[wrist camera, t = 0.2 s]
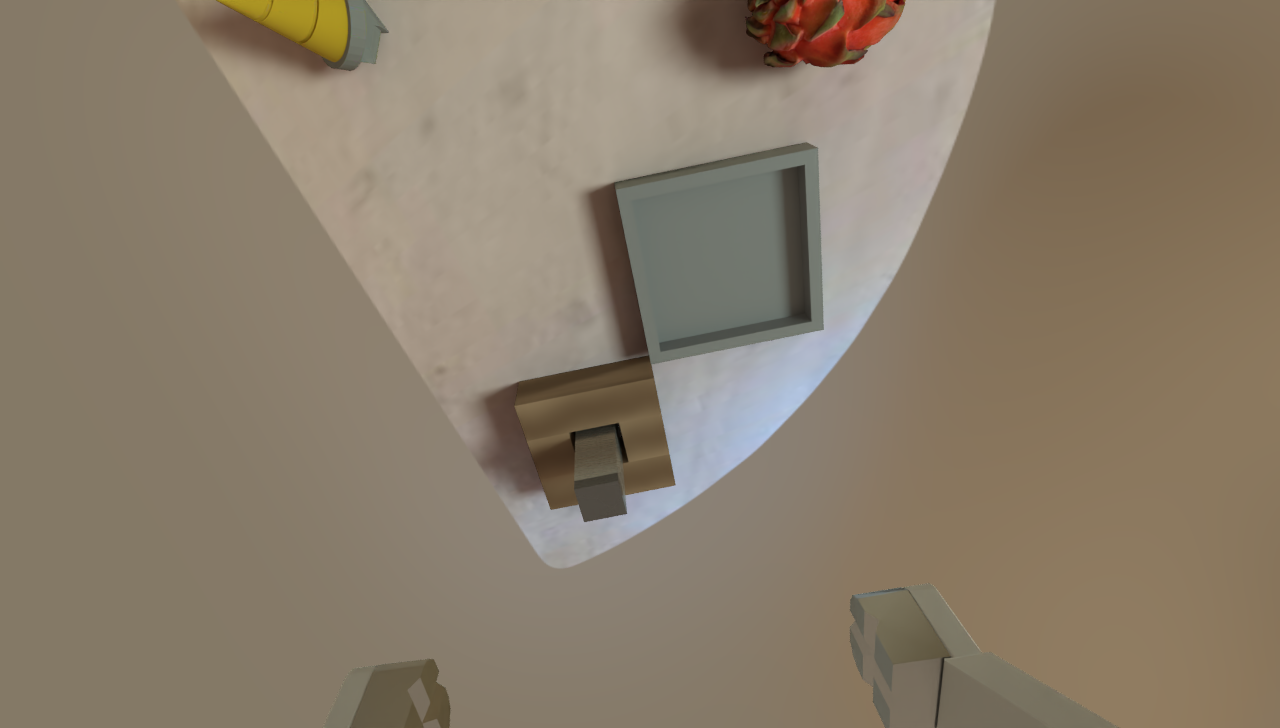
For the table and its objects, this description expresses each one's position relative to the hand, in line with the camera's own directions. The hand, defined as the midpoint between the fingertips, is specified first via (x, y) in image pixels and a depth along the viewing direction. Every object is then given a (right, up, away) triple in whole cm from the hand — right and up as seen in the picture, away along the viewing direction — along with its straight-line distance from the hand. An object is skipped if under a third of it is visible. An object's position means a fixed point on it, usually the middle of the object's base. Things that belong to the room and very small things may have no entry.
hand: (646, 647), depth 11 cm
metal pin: (-4, 0, +44) cm, 45 cm away
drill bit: (-20, +28, +28) cm, 44 cm away
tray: (+7, +15, +37) cm, 41 cm away
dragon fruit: (+12, +31, +29) cm, 44 cm away
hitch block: (-4, 0, +44) cm, 45 cm away
